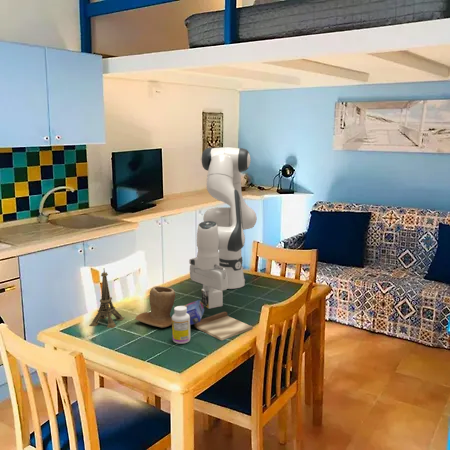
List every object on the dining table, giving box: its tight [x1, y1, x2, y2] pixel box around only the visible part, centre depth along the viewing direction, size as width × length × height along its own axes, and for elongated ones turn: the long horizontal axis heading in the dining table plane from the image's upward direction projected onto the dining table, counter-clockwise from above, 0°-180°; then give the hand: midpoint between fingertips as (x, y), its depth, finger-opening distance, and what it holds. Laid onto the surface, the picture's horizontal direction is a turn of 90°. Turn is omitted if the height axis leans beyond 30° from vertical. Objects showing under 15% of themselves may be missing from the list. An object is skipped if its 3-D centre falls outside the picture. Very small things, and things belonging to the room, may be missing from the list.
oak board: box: [193, 311, 253, 341], centre depth 197 cm, size 16×16×2 cm
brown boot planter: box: [134, 285, 176, 329], centre depth 202 cm, size 15×12×15 cm
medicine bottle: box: [201, 288, 224, 310], centre depth 221 cm, size 7×7×12 cm
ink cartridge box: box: [183, 299, 205, 326], centre depth 199 cm, size 10×6×14 cm
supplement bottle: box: [171, 305, 191, 345], centre depth 185 cm, size 7×7×13 cm
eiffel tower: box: [88, 269, 125, 329], centre depth 202 cm, size 11×11×25 cm
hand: (208, 295), depth 201 cm, fingers closed
